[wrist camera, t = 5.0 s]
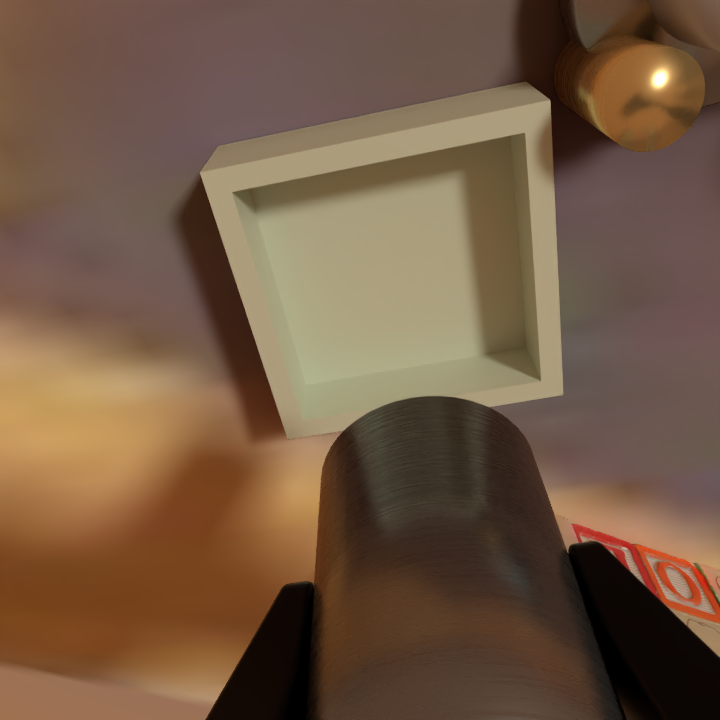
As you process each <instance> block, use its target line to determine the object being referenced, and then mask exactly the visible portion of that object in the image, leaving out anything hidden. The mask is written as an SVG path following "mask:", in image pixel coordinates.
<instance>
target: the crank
mask: <svg viewBox="0 0 720 720" xmlns="http://www.w3.org/2000/svg"><path fill="white" fill-rule="evenodd" d="M648 1H649V4H650V7H651V10H652V12H653V15H654V17H655V19H656V20H657V22H658V23H659V25H660V26H661V27H662V28H663V29H664V30H665V31H666V32H667V33H668V34H670V35H671V36H672V37H674V38H676V39H677V40H679V41H682V42H685V43H688V44H691V45H695V46H699V47H702V48H706V49H710V50H713V51H717V52H720V0H648Z"/></svg>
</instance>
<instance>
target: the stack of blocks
mask: <svg viewBox="0 0 720 720" xmlns="http://www.w3.org/2000/svg"><path fill="white" fill-rule="evenodd" d="M555 518H556V521H557V524H558V526H559V529H560V532H561V535H562V538H563V541H564V543H565V546H566V549H567V552H568V549H569V546H570V545H571V544H575V543H582V542H589V541H597V542H600V543H601V544H602V545H604V546H605V547H606V548H607V549H608V550H609V551H610V552H611V553H612V554H613V555H614V556H615V557H616V558H617V559H618V560H619V561H620V562H621V563H622V564H623V565H624V566H625V567H626V568H628V569H629V570H630V571H631V572H632V573H633V574H634V575H635V576H636V577H637V578H638V579H639V580H640V581H641V582H642V583H643V584H644V585H645V586H646V587H647V588H648V589H649V590H650V591H651V592H652V593H653V594H655V595H656V596H657V597H658V598H659V599H660V600H661V601H662V602H663V603H664V604H665V605H666V606H667V607H668V608H669V609H670V610H671V611H672V612H673V613H674V614H675V615H676V616H677V617H678V618H679V619H680V620H682V621H683V622H684V623H685V624H686V625H687V626H688V627H689V628H690V629H691V630H692V631H693V632H694V633H695V634H696V635H697V636H698V637H699V638H700V639H701V640H702V641H703V642H704V643H705V644H706V645H708V646H709V647H710V648H711V649H712V650H713V651H714V652H715V653H716V654H717V655H718V656H719V657H720V570H718V569H715V568H712V567H709V566H707V565H704V564H700V563H695V564H693V563H690V562H687V561H686V560H683V559H678V558H676V557H672V556H669V555H667V554H664V553H661V552H658V551H655V550H652V549H649V548H647V547H644V546H641V545H638V544H630V543H628V542H626V541H623V540H620V539H617V538H615V537H612V536H609V535H606V534H603V533H601V532H597V531H593V530H591V529H589V528H586V527H582V526H580V525H577V524H571V523H570V521H569V520H567V519H565V518H562V517H559V516H556V515H555Z"/></svg>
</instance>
